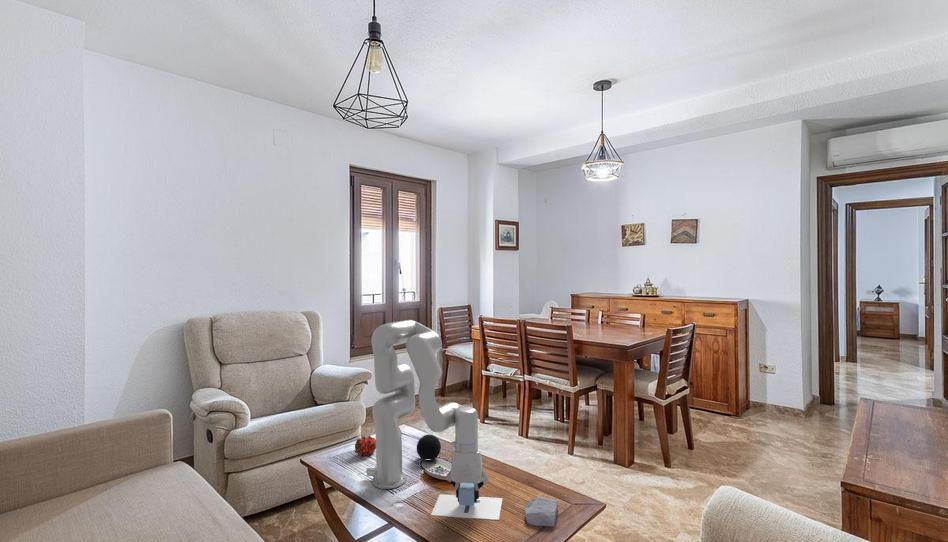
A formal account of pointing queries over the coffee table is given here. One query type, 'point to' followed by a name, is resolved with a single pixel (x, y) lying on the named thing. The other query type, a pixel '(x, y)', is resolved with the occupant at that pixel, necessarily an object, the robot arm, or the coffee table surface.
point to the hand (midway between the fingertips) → (467, 499)
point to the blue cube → (466, 494)
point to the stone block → (541, 511)
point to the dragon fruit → (365, 446)
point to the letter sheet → (468, 508)
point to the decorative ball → (428, 447)
